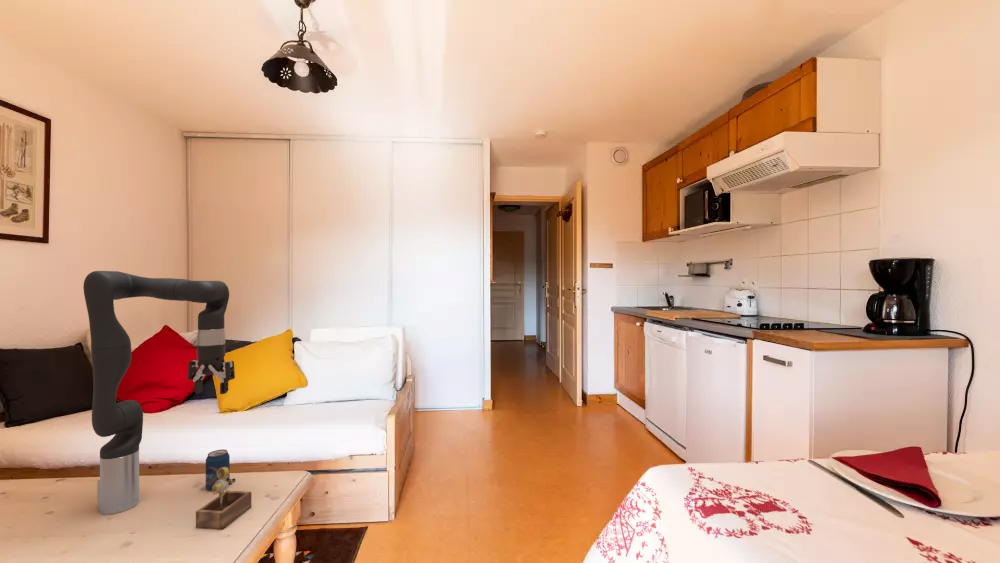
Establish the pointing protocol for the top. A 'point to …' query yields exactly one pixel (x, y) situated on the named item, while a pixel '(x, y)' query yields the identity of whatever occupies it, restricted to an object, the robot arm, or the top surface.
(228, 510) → the open wooden box
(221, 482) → the regulator
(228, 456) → the soda can
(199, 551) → the top surface
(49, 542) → the top surface
